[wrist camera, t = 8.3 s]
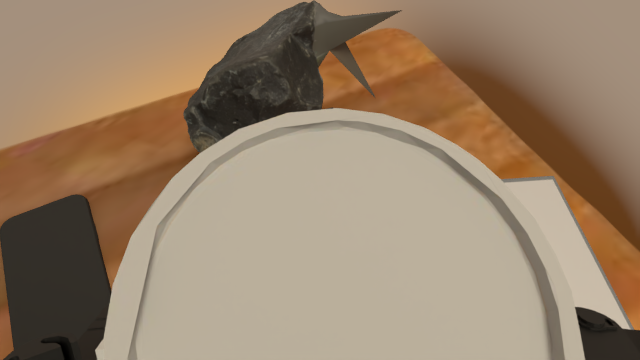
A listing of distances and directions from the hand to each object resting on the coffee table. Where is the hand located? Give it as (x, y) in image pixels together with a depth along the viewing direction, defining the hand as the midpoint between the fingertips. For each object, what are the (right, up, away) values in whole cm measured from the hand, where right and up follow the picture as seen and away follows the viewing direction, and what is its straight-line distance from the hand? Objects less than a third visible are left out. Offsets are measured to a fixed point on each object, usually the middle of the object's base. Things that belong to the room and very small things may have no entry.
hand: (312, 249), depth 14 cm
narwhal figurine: (-3, +4, +22) cm, 23 cm away
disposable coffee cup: (0, -5, +2) cm, 6 cm away
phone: (-23, -6, +15) cm, 28 cm away
